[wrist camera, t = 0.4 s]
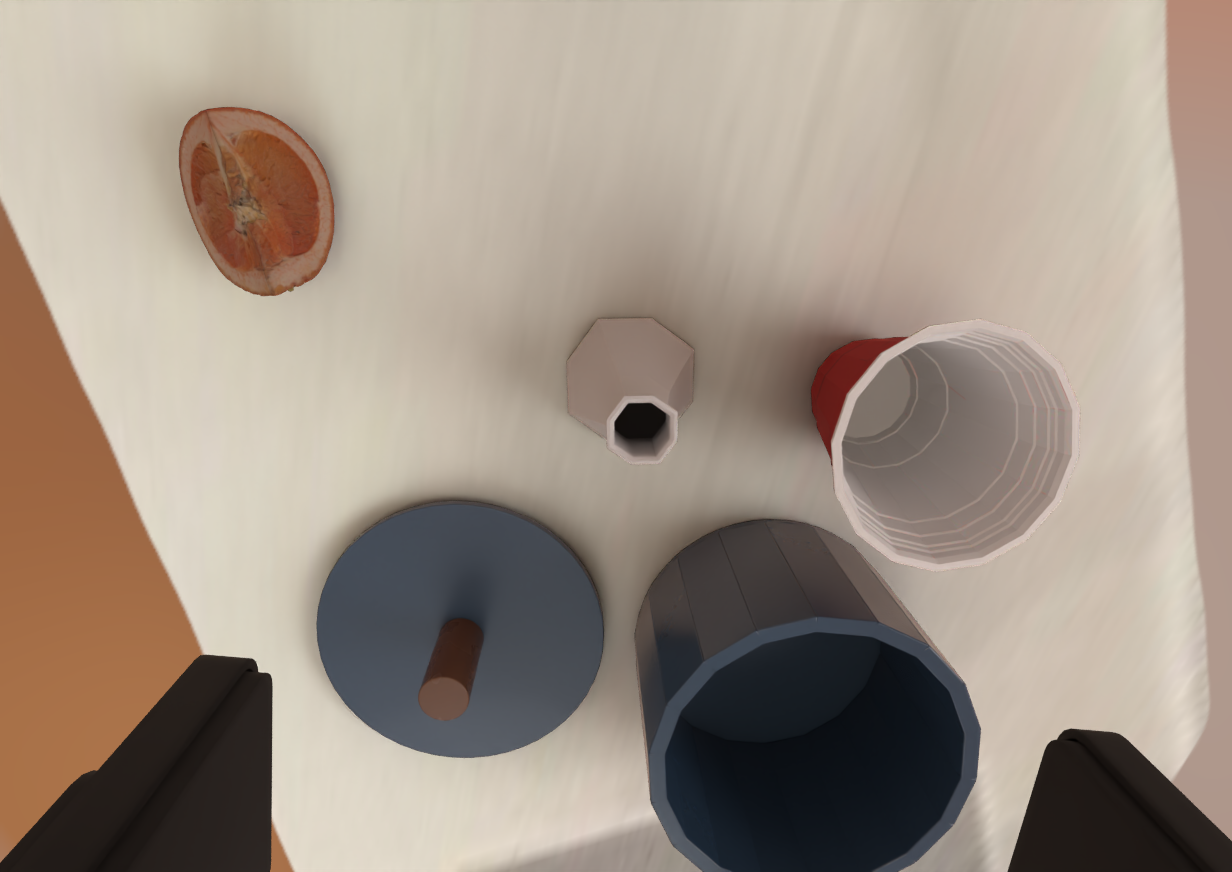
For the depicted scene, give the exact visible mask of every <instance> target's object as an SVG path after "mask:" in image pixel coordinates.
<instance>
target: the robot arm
mask: <svg viewBox="0 0 1232 872" xmlns="http://www.w3.org/2000/svg"><path fill="white" fill-rule="evenodd" d="M271 808H272V678H271V675H270V674H269V673H260V672H258V667H257V664H256V661H255V660H253V659H250V658H238V657H227V656H215V655H200V656H199V657H198V658H197V659H196V660H194V661H193V663H192V664H191V665H190V666H189V667H188V669H186V671H185V672H184V673H183V674H182V675H181V676H180V677H179V679H178V680H177V681H176V682H175V683H174V684H173V685H172V687H171V688H170V689H169V690H168V691H167V692H166V693H165V694H164V696H163V697H162V698H161V699H160V700H159V701H158V703H157V704H156V705H155V706H154V707H153V708H152V709H151V710H150V712H149V713H148V714H147V715H146V716H145V717H144V719H143V720H142V721H141V722H140V723H139V724H138V725H137V726H136V728H135V729H134V730H133V731H132V732H131V733H130V734H129V736H128V737H127V738H126V739H125V740H124V741H123V742H122V744H121V745H120V746H119V747H118V748H117V749H116V750H115V751H114V753H113V754H112V755H111V756H110V757H109V758H108V760H107V761H106V762H105V763H104V764H103V765H102V766H101V767H100V769H99V770H98V771H95V770H93V771H90V772H88V773H85V774H83V775H81V776H80V777H79V778H78V779H77V780H76V781H75V782H73V784H71V785H70V786H69V787H68V788H67V790H66V791H65V792H64V793H63V794H62V795H61V796H60V797H59V798H58V800H57V801H56V802H55V803H54V804H53V805H52V806H51V807H50V809H48V811H47V812H46V813H45V814H44V815H43V816H42V817H41V818H40V819H39V821H38V822H37V823H36V824H35V825H34V826H33V827H32V828H31V829H30V831H29V832H28V833H27V834H26V835H25V836H24V837H23V838H22V839H21V840H20V842H19V843H18V844H17V845H16V846H15V847H14V849H12V850H11V852H10V853H9V854H8V855H7V856H6V857H5V858H4V859H3V860H2V862H1V863H0V872H270V869H271ZM1008 872H1232V841H1231V840H1230V839H1229V838H1228V837H1227V836H1226V835H1225V834H1224V833H1223V832H1222V831H1221V830H1219V829H1218V827H1216V825H1214V824H1213V823H1212V822H1211V821H1210V820H1209V819H1208V818H1207V817H1206V816H1205V815H1204V814H1203V813H1202V812H1201V811H1200V810H1199V809H1198V808H1197V807H1196V806H1195V805H1194V804H1193V803H1192V802H1191V801H1190V800H1189V799H1188V798H1186V796H1185V795H1184V794H1183V793H1182V792H1180V791H1179V790H1178V789H1177V788H1176V787H1175V786H1174V785H1173V784H1172V783H1171V782H1170V781H1169V780H1168V779H1167V778H1166V777H1165V776H1164V775H1163V774H1162V773H1161V772H1160V771H1159V770H1158V769H1157V768H1156V767H1155V766H1154V765H1153V764H1152V763H1151V762H1150V761H1149V760H1148V759H1147V758H1146V757H1144V756H1143V755H1142V754H1141V753H1140V752H1139V751H1138V750H1137V749H1136V748H1135V747H1134V746H1133V745H1132V744H1131V743H1130V742H1129V741H1128V740H1127V739H1126V738H1124V737H1123V736H1121V735H1120V734H1117V733H1113V732H1104V731H1092V730H1080V729H1068V730H1064V731H1063V732H1062V733H1061V734H1060V735H1059V737H1058V739H1057V740H1053V741H1051V742H1050V743H1049V744H1048V745H1047V747H1046V749H1045V751H1044V754H1043V758H1042V761H1041V764H1040V768H1039V771H1038V774H1037V777H1036V781H1035V784H1034V787H1033V790H1032V794H1031V797H1030V800H1029V804H1028V807H1027V810H1026V813H1025V817H1024V820H1023V823H1022V826H1021V830H1020V833H1019V836H1018V840H1017V843H1016V846H1015V849H1014V853H1013V856H1012V859H1011V862H1010V866H1009V869H1008Z"/></svg>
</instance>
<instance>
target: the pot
mask: <svg viewBox="0 0 1232 872" xmlns="http://www.w3.org/2000/svg"><path fill="white" fill-rule="evenodd" d="M635 649H636V667H637V678H638V688H639V697H640V707H641V716H642V726H643V735H644V745H645V754H646V764H647V773H648V783H649V792H650V801H651V804H652V806H653V808H654V810H655V812H656V814H657V816H658V818H659V820H660V822H661V824H662V826H663V828H664V830H665V832H666V834H667V836H668V838H669V840H670V842H671V844H672V845H673V846H674V847H675V848H676V849H677V850H678V851H679V852H680V853H682V854H683V855H684V856H685V857H686V858H687V859H689V860H690V861H691V862H692V863H693V864H694V865H696V866H697V867H698V868H699V869H700V870H701V871H703V872H899V871H900V870H902V869H904V868H906V867H908V866H910V865H912V864H914V863H915V862H917V861H918V860H919V859H920V858H921V857H922V856H923V855H924V854H925V853H926V852H927V851H928V850H929V849H930V848H931V847H932V846H933V845H934V844H935V843H936V842H937V841H938V840H939V839H940V838H941V837H942V836H943V835H944V834H945V833H946V832H947V831H948V830H949V829H950V828H951V827H952V826H953V824H955V822H956V820H957V818H958V816H959V814H960V812H961V810H962V808H963V806H964V804H965V802H966V800H967V798H968V796H969V794H970V792H971V790H972V788H973V786H974V784H975V782H976V778H977V770H978V758H979V746H980V734H981V728H980V725H979V722H978V719H977V716H976V713H975V710H974V707H973V705H972V702H971V699H970V696H969V693H968V690H967V687H966V684H965V683H964V681H963V680H962V679H961V677H960V676H959V675H958V674H957V672H956V671H955V670H954V668H953V667H952V666H951V665H950V663H949V662H948V661H947V660H946V658H945V657H944V656H943V654H942V653H941V652H940V651H939V649H938V648H937V647H936V646H935V644H934V643H933V642H932V640H931V639H930V638H929V637H928V635H927V634H926V633H925V632H924V630H923V629H922V628H921V626H920V625H919V624H918V623H917V621H916V620H915V619H914V617H913V616H912V615H911V614H910V612H909V611H908V610H907V609H906V607H905V606H904V605H903V603H902V602H901V601H900V600H899V598H898V597H897V596H896V595H895V593H894V592H893V591H892V589H891V588H890V587H889V586H888V584H887V583H886V582H885V580H884V579H883V578H882V577H881V575H880V574H879V573H878V572H877V571H876V570H875V569H874V568H873V567H872V566H871V565H870V564H869V562H868V561H867V560H866V559H865V558H864V557H863V556H862V555H861V554H860V553H859V552H858V551H857V550H856V549H855V548H854V546H852V545H851V544H849V543H847V542H846V541H844V540H843V539H841V538H839V537H838V536H836V535H835V534H832V533H830V532H828V531H826V530H824V529H821V528H819V527H816V526H812V525H809V524H806V523H801V522H795V521H789V520H772V519H767V520H756V521H748V522H743V523H739V524H734V525H731V526H728V527H725V528H722V529H719V530H716V531H714V532H712V533H710V534H708V535H706V536H704V537H702V538H700V539H699V540H697V541H695V542H694V543H692V544H691V545H689V546H688V547H686V548H685V549H684V550H683V551H681V552H680V553H679V554H678V555H677V556H675V557H674V558H673V559H672V560H671V561H670V562H669V563H668V564H667V565H666V567H665V568H664V569H663V570H662V571H661V572H660V574H659V575H658V576H657V578H656V579H655V581H654V582H653V583H652V585H651V587H650V589H649V591H648V593H647V595H646V596H645V598H644V601H643V604H642V607H641V609H640V612H639V616H638V621H637V626H636V629H635Z"/></svg>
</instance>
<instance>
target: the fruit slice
mask: <svg viewBox="0 0 1232 872" xmlns="http://www.w3.org/2000/svg"><path fill="white" fill-rule="evenodd" d="M179 168H180V175H181V181H182V186H183V191H184V195H185V199H186V202H187V205H188V208H189V211H190V213H191V216H192V219H193V221H194V224H195V226H196V229H197V231H198V233H199V235H200V237H201V239H202V241H203V243H204V245H205V247H206V249H207V251H208V253H209V255H210V257H211V258H212V260H213V261H214V263H215V265H216V266H217V268H218V269H219V270H220V272H221V273H222V274H223V275H224V276H225V277H226V278H227V279H228V280H230V281H231V282H232V283H234V284H235V285H236V286H238V287H240V288H242V289H243V290H245V291H248V292H250V293H252V294H257V295H258V294H259V295H261V296H276V295H279V294H282V293H283V292H285V291H286V290H288V291H290V292H291V291H293V290H294V289H293V287H295V286H297V287H298V286H301V285H303V284H304V282H305V283H306V282H308V281H310V280H312V279H313V278H314V277H315V276H316V275H317V274H318V273H319V272H320V270H321V268H322V266H323V265H324V263H325V262H326V259H327V256H328V253H329V250H330V248H331V244H332V239H333V233H334V203H333V197H332V193H331V188H330V184H329V181H328V178H327V175H326V172H325V170H324V168H323V166H322V164H321V162H320V161H319V159H318V157H317V156H316V154H315V153H314V151H313V150H312V149H311V148H310V147H309V146H308V144H307V143H306V142H305V141H304V140H303V139H302V138H301V137H300V136H299V135H298V134H297V133H296V132H295V131H293V130H292V129H291V128H290V127H289V126H287V125H286V124H285V123H283V122H282V121H280V120H278V119H276V118H275V117H273V116H271V115H268V114H265V113H263V112H260V111H254V110H251V109H245V108H236V107H221V108H213V109H207V110H204V111H200V112H199V113H198V114H197V115H195V116H194V117H192V118H191V119H190V120H189V121H188V123H187V124H186V126H185V128H184V131H183V135H182V137H181V141H180V147H179Z"/></svg>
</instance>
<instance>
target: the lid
mask: <svg viewBox="0 0 1232 872" xmlns="http://www.w3.org/2000/svg"><path fill="white" fill-rule="evenodd" d="M317 641H318V646H319V651H320V656H321V659H322V662H323V665H324V668H325V670H326V673H327V675H328V677H329V679H330V681H331V683H332V685H333V687H334V689H335V690H336V691H337V693H338V694H339V696H340V697H341V698H342V700H343V701H344V703H345V704H346V705H347V706H348V707H349V708H350V709H351V710H352V711H353V712H354V713H355V715H356V716H358V717H359V718H360V719H361V720H362V721H363V722H365V723H366V724H367V725H368V726H369V727H371V728H372V729H374V730H375V731H377V732H378V733H380V734H381V735H383V736H385V737H386V738H388V739H390V740H392V741H394V742H396V743H398V744H400V745H403V746H406V747H408V748H411V749H414V750H417V751H420V752H424V753H428V754H433V755H438V756H446V757H457V758H474V757H485V756H492V755H497V754H502V753H506V752H509V751H512V750H515V749H518V748H521V747H524V746H526V745H528V744H530V743H532V742H535V741H537V740H539V739H540V738H542V737H543V736H545V735H547V734H548V733H550V732H552V731H553V730H554V729H555V728H557V727H558V726H559V725H560V724H562V723H563V722H564V721H565V720H566V719H567V718H568V717H569V716H570V715H571V714H572V713H573V712H574V711H575V710H576V709H577V708H578V706H579V705H580V703H581V702H582V701H583V699H584V698H585V697H586V695H587V693H588V691H589V690H590V688H591V686H592V684H593V682H594V680H595V677H596V674H597V672H598V669H599V666H600V662H601V657H602V652H603V641H604V626H603V615H602V609H601V605H600V601H599V597H598V594H597V592H596V589H595V587H594V584H593V582H592V580H591V578H590V576H589V574H588V573H587V571H586V569H585V567H584V566H583V564H582V563H581V562H580V560H579V559H578V558H577V556H576V555H575V554H574V553H573V551H572V550H571V549H570V548H569V547H568V546H567V545H566V544H565V543H564V542H563V541H562V540H561V539H560V538H558V537H557V536H556V535H554V534H553V533H552V532H550V531H549V530H548V529H547V528H545V527H544V526H542V525H540V524H539V523H537V522H535V521H533V520H532V519H530V518H528V517H526V516H523V515H521V514H519V513H516V512H514V511H512V510H509V509H505V508H502V507H498V506H495V505H491V504H485V503H479V502H472V501H444V502H433V503H428V504H424V505H419V506H414V507H411V508H409V509H406V510H403V511H400V512H397V513H395V514H393V515H391V516H389V517H387V518H385V519H383V520H381V521H379V522H378V523H376V524H375V525H373V526H372V527H370V528H369V529H368V530H366V531H365V532H364V533H362V534H361V535H360V536H359V537H358V538H357V539H356V540H355V541H354V542H353V543H351V545H350V546H349V547H348V548H347V549H346V551H345V552H344V553H343V554H342V556H341V557H340V558H339V560H338V561H337V563H336V564H335V566H334V568H333V569H332V571H331V573H330V574H329V576H328V578H327V581H326V583H325V586H324V588H323V591H322V594H321V598H320V602H319V606H318V614H317Z"/></svg>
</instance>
